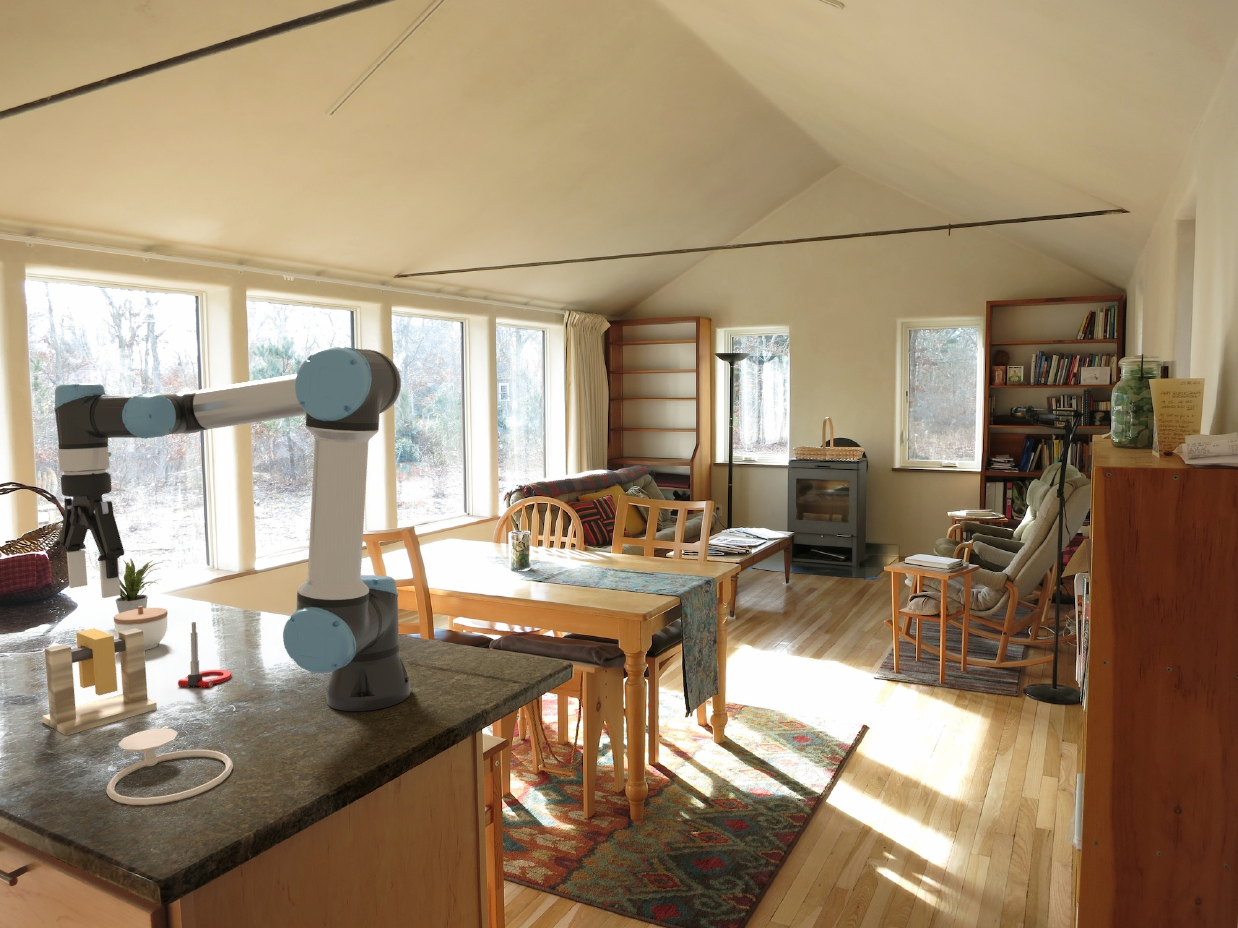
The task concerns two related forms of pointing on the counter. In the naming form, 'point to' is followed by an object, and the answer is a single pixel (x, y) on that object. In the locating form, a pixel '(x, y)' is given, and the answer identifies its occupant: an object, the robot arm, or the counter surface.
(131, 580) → the house plant
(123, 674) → the wooden crossbar stand
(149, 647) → the lidded jar
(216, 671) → the tow hook
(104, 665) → the yellow u-shaped bracket
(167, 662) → the counter surface
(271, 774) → the counter surface
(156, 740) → the hand towel holder
